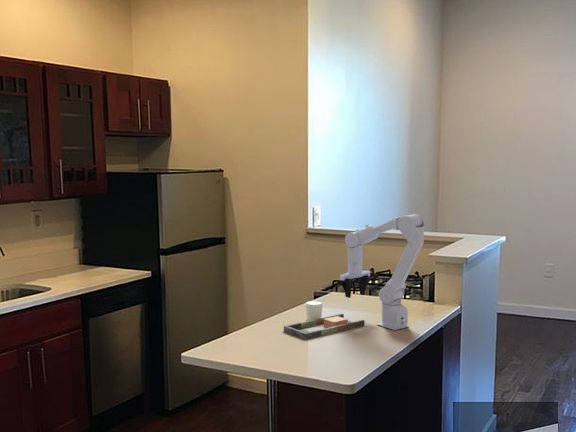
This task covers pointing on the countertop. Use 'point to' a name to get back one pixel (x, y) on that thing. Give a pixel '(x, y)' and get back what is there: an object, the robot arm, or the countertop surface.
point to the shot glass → (313, 310)
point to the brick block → (335, 321)
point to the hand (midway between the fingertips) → (355, 295)
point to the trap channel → (297, 331)
